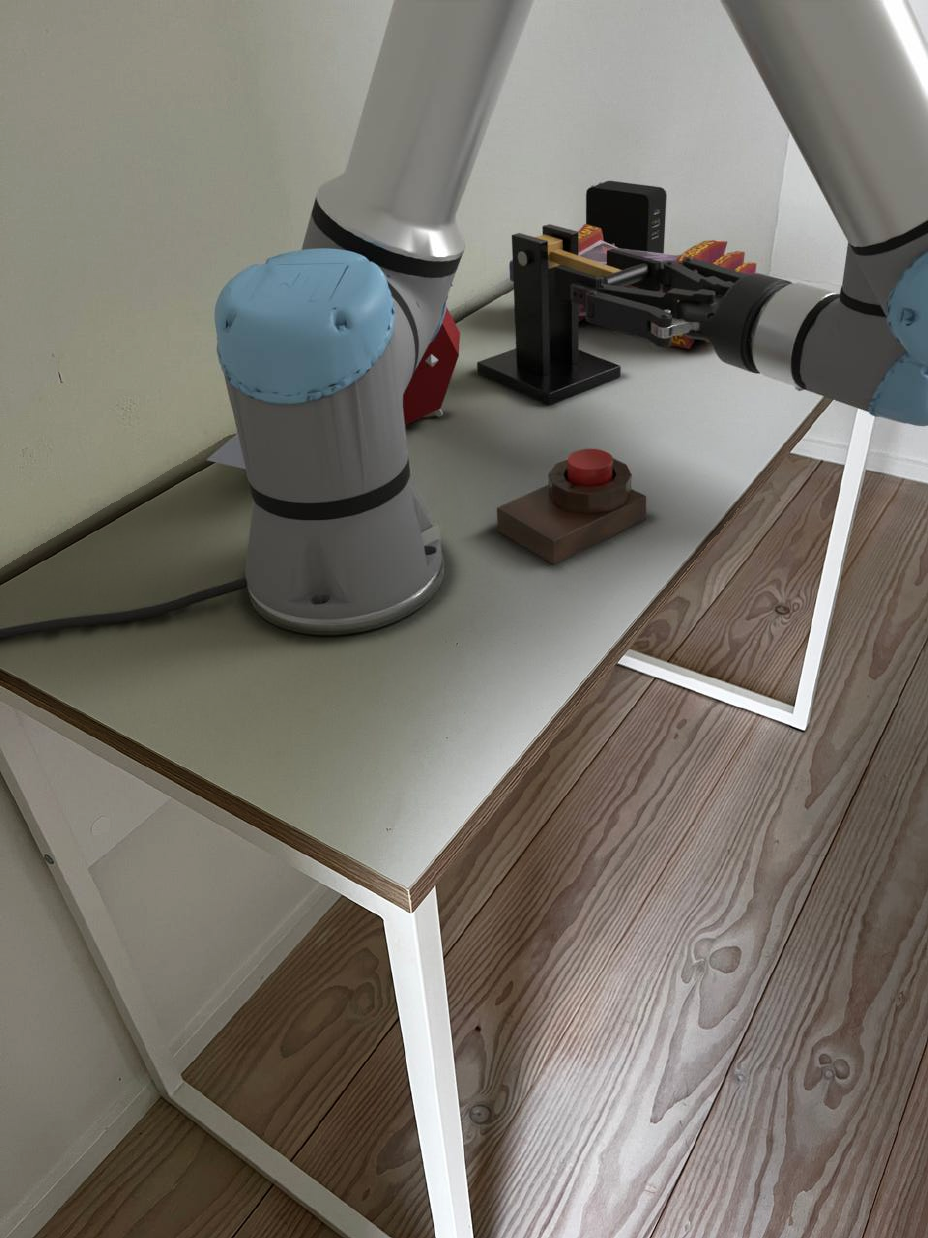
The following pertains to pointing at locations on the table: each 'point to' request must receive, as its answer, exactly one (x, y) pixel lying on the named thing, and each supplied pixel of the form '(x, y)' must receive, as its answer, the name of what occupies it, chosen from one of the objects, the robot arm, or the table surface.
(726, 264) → the red patterned flared cylinder
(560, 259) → the light lever
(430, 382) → the alarm clock
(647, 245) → the electronic device
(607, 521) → the switch block
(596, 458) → the light button
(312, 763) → the table surface
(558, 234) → the switch bracket
